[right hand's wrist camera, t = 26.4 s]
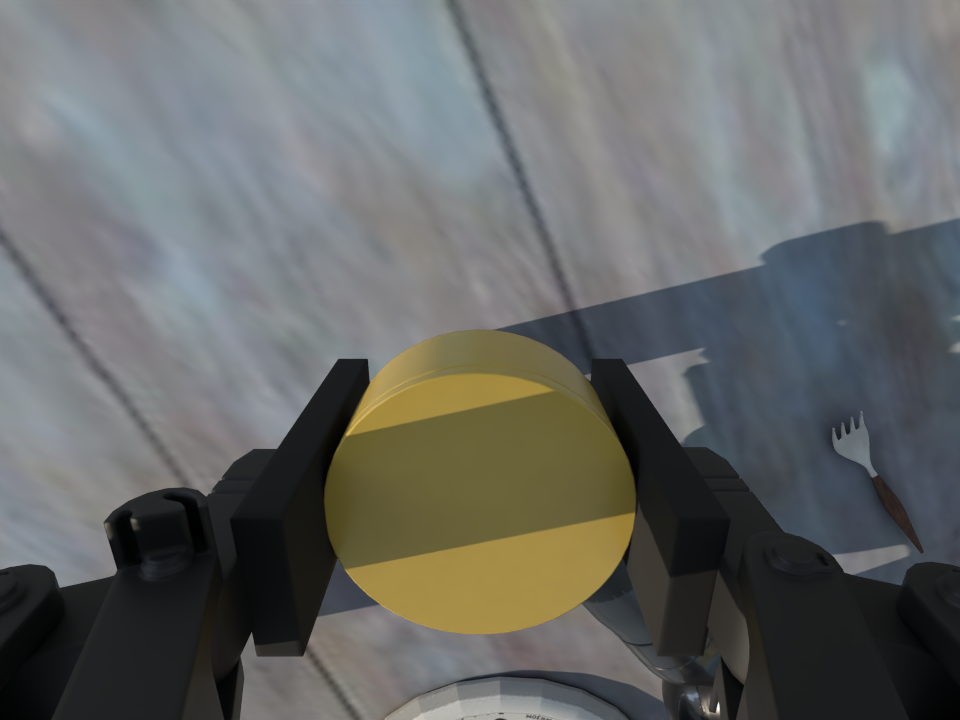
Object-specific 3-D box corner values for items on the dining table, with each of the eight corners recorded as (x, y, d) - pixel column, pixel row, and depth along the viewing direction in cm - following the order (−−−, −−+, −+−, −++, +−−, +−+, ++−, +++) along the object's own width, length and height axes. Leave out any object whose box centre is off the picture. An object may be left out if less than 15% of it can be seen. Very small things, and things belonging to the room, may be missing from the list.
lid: (335, 530, 13) (305, 608, 11) (372, 301, 11) (345, 339, 9) (567, 572, 14) (585, 656, 11) (644, 360, 12) (684, 411, 9)
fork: (902, 556, 44) (920, 574, 42) (814, 418, 40) (830, 430, 38) (932, 540, 44) (953, 557, 42) (846, 398, 40) (865, 409, 38)
